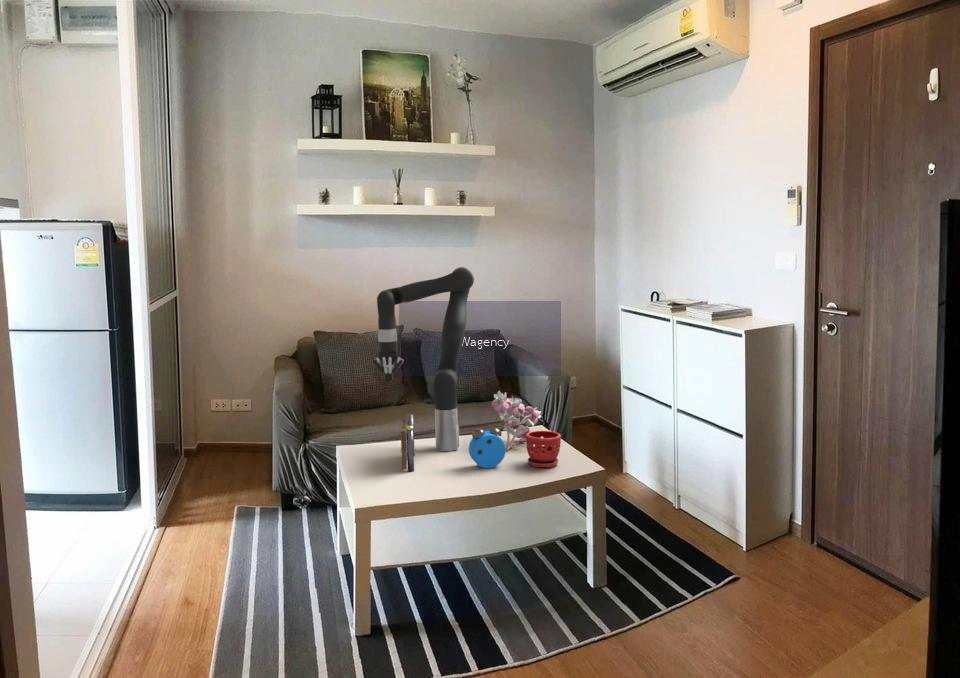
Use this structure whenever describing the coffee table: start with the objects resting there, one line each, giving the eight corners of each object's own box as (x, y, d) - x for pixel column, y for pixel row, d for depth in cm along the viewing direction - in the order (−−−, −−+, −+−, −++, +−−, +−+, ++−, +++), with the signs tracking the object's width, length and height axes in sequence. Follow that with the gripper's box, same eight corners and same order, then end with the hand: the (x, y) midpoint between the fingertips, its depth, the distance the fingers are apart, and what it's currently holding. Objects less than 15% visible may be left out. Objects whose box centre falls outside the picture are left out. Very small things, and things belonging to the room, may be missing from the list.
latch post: (415, 469, 268) (414, 425, 266) (413, 472, 265) (412, 427, 263) (408, 469, 268) (406, 425, 266) (406, 472, 266) (404, 427, 263)
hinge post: (415, 455, 286) (414, 414, 284) (413, 457, 283) (412, 415, 281) (408, 455, 286) (407, 414, 284) (407, 457, 284) (406, 415, 281)
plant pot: (561, 469, 265) (561, 438, 264) (526, 469, 266) (526, 438, 264) (559, 459, 278) (559, 429, 277) (526, 459, 279) (525, 429, 277)
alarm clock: (501, 462, 275) (500, 424, 273) (506, 467, 269) (505, 428, 267) (468, 466, 271) (467, 427, 269) (473, 470, 266) (472, 431, 264)
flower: (550, 448, 286) (547, 388, 294) (496, 447, 282) (495, 386, 290) (536, 457, 305) (533, 400, 313) (484, 455, 300) (484, 398, 308)
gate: (403, 455, 284) (402, 418, 282) (407, 455, 284) (406, 418, 282) (402, 470, 265) (400, 431, 263) (406, 469, 265) (405, 430, 263)
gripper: (369, 341, 283) (370, 383, 286) (401, 341, 281) (402, 384, 284) (374, 338, 291) (376, 380, 293) (406, 338, 289) (407, 380, 291)
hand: (389, 382), depth 288 cm, fingers closed
